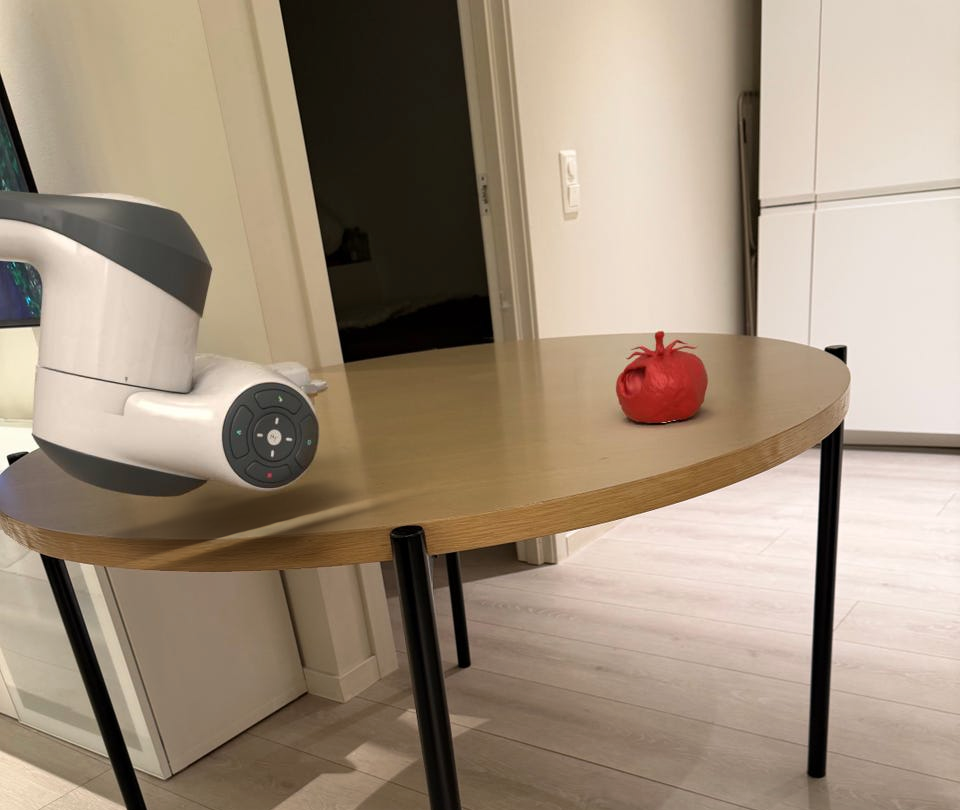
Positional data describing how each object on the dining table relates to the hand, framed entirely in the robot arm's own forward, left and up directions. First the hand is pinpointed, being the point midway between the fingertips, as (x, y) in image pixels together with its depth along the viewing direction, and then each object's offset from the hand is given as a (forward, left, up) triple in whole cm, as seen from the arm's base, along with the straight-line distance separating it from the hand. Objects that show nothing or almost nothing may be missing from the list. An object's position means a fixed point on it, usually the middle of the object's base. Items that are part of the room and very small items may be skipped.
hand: (178, 395), depth 82 cm
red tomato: (+49, -10, -11) cm, 51 cm away
